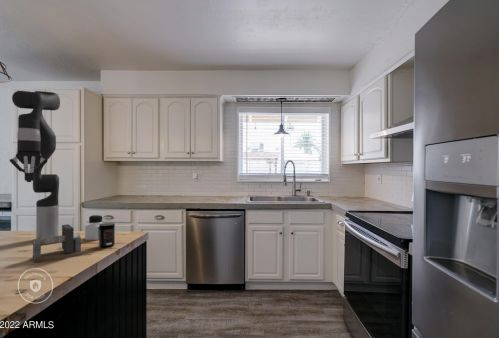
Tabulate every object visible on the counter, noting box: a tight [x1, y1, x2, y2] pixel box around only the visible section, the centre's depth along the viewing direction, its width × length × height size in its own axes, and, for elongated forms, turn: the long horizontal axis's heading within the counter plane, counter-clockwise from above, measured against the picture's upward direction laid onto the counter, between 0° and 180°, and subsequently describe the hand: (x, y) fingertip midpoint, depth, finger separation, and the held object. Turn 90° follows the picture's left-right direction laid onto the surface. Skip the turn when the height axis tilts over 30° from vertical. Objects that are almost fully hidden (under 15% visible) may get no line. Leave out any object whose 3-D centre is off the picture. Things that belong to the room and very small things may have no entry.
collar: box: [61, 224, 75, 253], centre depth 121 cm, size 10×2×10 cm, turn 43°
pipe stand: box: [32, 232, 83, 264], centre depth 119 cm, size 8×16×9 cm, turn 133°
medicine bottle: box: [84, 214, 103, 241], centre depth 148 cm, size 7×7×12 cm
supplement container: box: [98, 222, 116, 249], centre depth 135 cm, size 7×7×10 cm
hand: (28, 182), depth 118 cm, fingers closed
